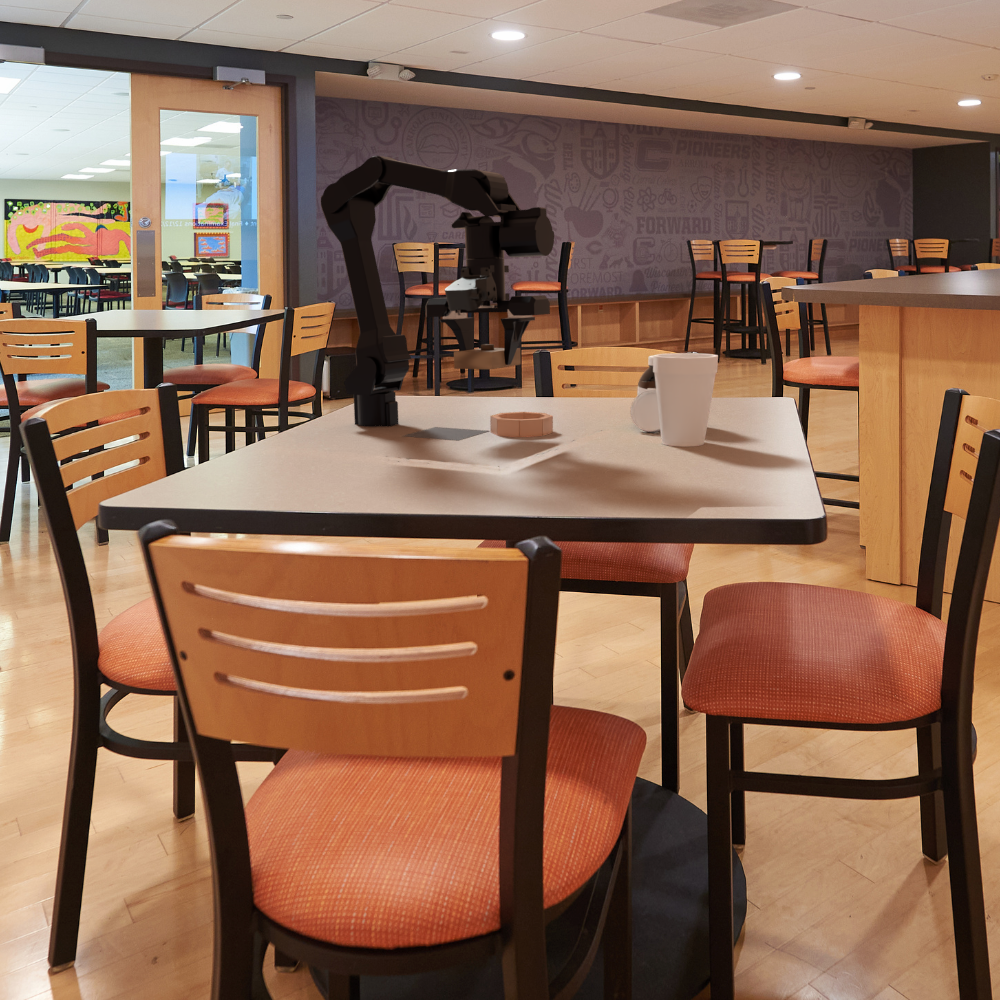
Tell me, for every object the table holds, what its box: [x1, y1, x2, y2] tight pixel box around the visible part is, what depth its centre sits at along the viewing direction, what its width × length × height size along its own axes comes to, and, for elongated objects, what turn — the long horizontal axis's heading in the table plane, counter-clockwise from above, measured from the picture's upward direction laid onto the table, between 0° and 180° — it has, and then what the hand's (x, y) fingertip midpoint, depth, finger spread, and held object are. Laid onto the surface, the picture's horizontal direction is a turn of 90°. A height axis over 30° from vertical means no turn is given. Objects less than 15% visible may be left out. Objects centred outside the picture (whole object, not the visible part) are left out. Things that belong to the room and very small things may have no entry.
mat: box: [402, 426, 490, 441], centre depth 152 cm, size 10×10×1 cm
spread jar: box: [629, 354, 661, 434], centre depth 160 cm, size 12×11×12 cm
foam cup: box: [652, 352, 719, 448], centre depth 146 cm, size 10×9×13 cm
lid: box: [453, 343, 522, 370], centre depth 150 cm, size 6×9×3 cm
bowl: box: [489, 411, 554, 438], centre depth 153 cm, size 9×9×4 cm
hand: (488, 364), depth 150 cm, fingers closed on lid, 6 cm apart
